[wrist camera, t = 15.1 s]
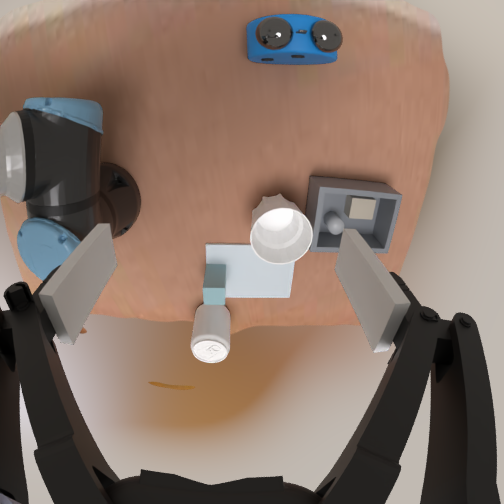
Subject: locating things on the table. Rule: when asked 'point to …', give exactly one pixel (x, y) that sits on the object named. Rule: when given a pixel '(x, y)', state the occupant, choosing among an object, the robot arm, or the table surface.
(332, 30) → the alarm clock
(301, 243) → the cup
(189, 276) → the table surface
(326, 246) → the tub
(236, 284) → the pale blue stand
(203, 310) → the beverage can
